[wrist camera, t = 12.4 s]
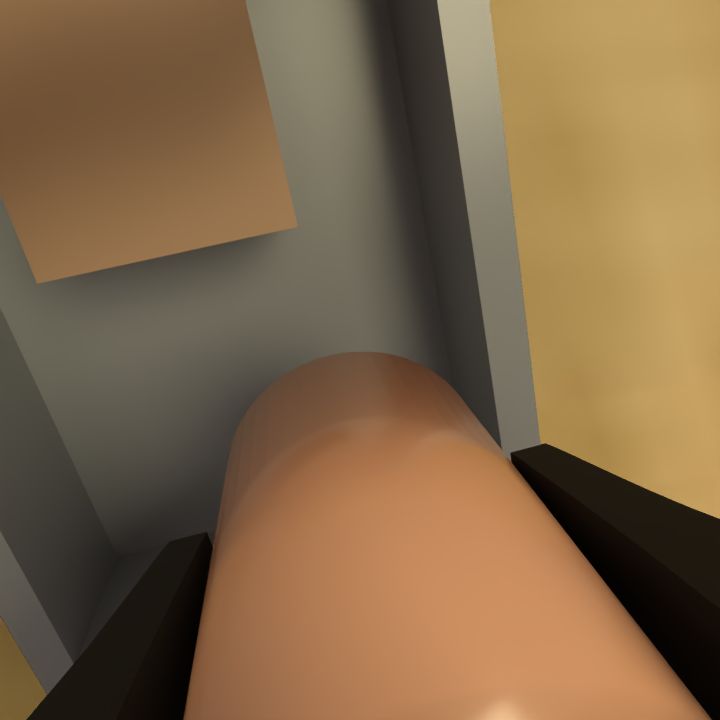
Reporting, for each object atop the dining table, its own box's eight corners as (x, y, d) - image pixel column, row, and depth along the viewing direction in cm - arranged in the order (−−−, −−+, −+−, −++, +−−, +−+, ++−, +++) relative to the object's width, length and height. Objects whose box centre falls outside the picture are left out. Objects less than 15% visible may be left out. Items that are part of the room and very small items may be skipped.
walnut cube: (291, 206, 15) (297, 226, 11) (111, 245, 15) (37, 283, 11) (243, -1, 14) (226, -84, 9) (38, 38, 13) (-90, -26, 9)
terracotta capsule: (490, 545, 12) (740, 997, 6) (261, 600, 12) (238, 1153, 5) (465, 326, 10) (792, 608, 4) (195, 383, 10) (38, 802, 3)
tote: (490, 468, 20) (554, 560, 16) (105, 572, 19) (51, 702, 15) (394, -146, 14) (454, -302, 9) (-184, -25, 13) (-441, -128, 8)
